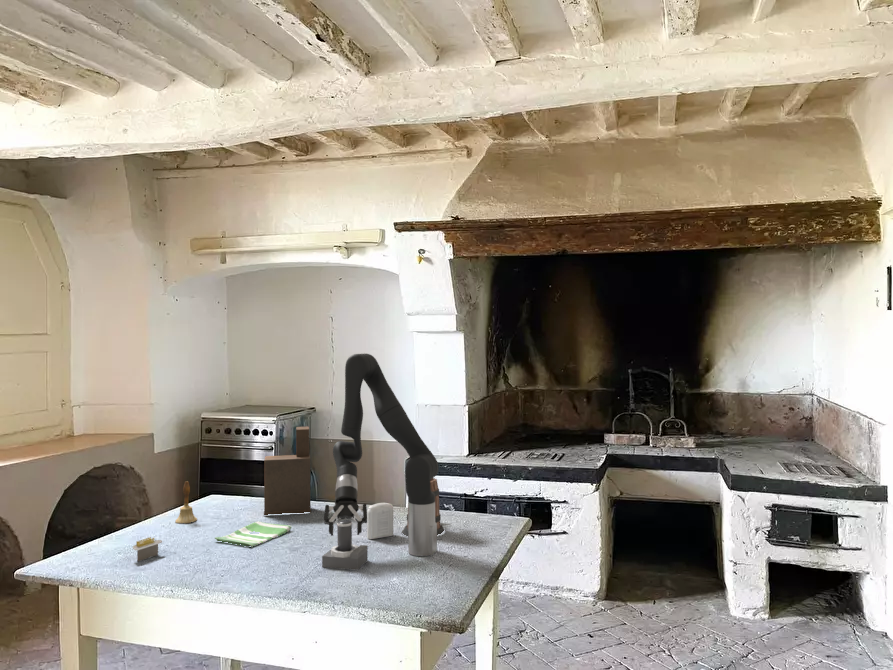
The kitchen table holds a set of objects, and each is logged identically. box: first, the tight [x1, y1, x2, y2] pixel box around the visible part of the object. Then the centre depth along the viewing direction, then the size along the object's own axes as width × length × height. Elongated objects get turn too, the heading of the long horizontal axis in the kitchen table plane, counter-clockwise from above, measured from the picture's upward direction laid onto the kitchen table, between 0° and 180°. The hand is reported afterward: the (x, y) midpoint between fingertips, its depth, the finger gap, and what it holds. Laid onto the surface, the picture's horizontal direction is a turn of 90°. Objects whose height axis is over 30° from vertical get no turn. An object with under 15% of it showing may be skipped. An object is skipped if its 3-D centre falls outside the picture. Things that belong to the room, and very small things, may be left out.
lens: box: [336, 519, 353, 552], centre depth 211 cm, size 5×5×10 cm
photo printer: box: [366, 502, 394, 540], centre depth 241 cm, size 10×4×12 cm, turn 123°
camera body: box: [321, 544, 369, 571], centre depth 211 cm, size 12×9×5 cm
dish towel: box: [214, 521, 292, 548], centre depth 242 cm, size 18×23×3 cm
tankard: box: [401, 477, 445, 537], centre depth 250 cm, size 24×17×20 cm
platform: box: [132, 536, 163, 562], centre depth 218 cm, size 12×18×7 cm, turn 153°
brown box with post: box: [263, 426, 312, 516], centre depth 279 cm, size 19×14×35 cm
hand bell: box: [175, 480, 198, 525], centre depth 264 cm, size 8×8×16 cm
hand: (345, 534), depth 212 cm, fingers open, 8 cm apart
